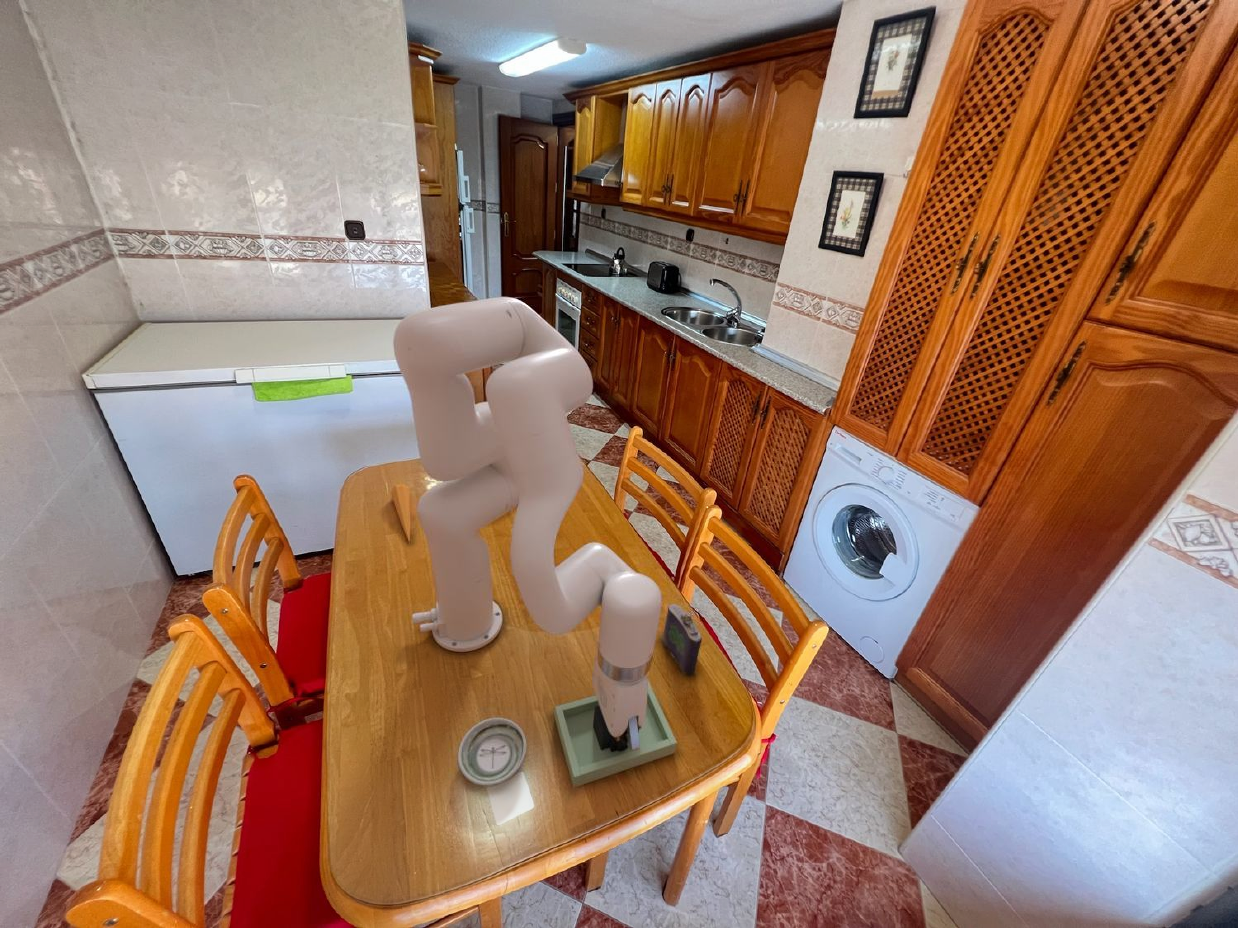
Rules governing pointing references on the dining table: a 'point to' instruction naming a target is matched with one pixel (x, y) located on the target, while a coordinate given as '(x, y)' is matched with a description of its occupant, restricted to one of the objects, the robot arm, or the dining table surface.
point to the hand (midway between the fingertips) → (614, 731)
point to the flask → (682, 638)
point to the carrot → (402, 506)
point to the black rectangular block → (601, 729)
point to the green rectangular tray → (596, 763)
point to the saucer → (492, 751)
